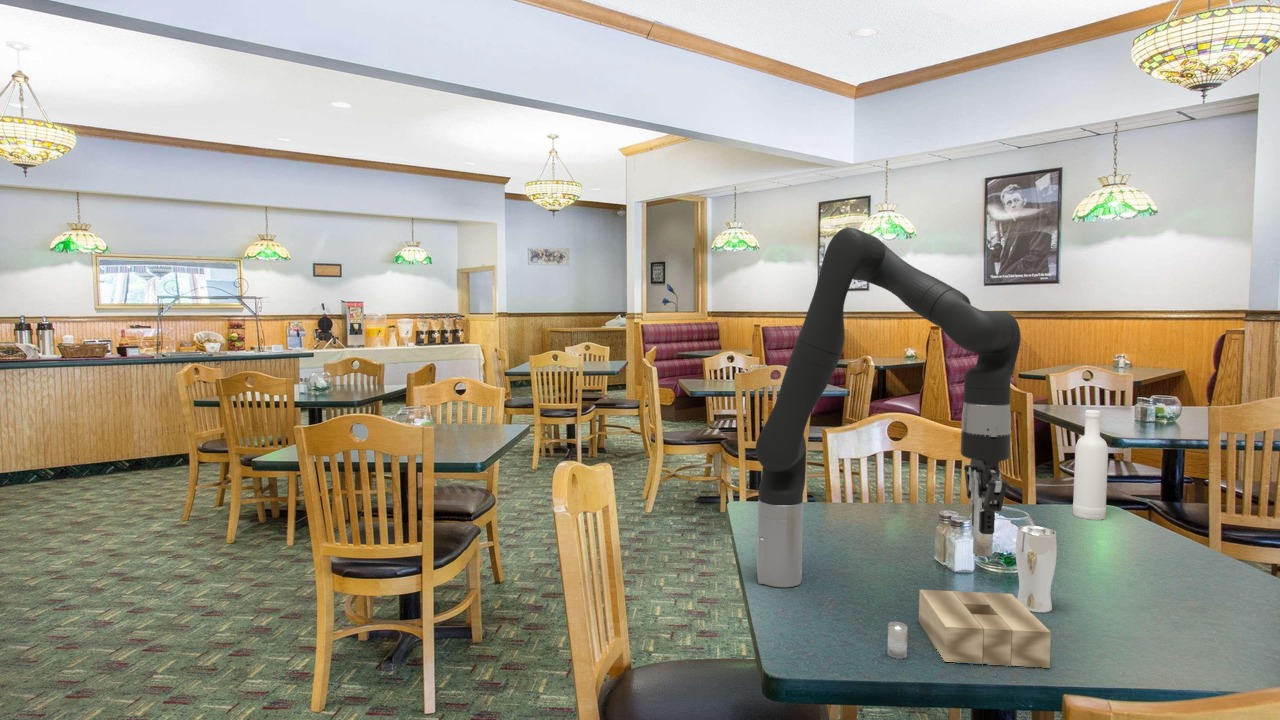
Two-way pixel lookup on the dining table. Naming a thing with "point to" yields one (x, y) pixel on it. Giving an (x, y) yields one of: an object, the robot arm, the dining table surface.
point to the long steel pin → (980, 541)
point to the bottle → (1090, 471)
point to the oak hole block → (983, 628)
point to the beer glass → (1035, 566)
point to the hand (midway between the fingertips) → (982, 529)
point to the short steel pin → (897, 640)
